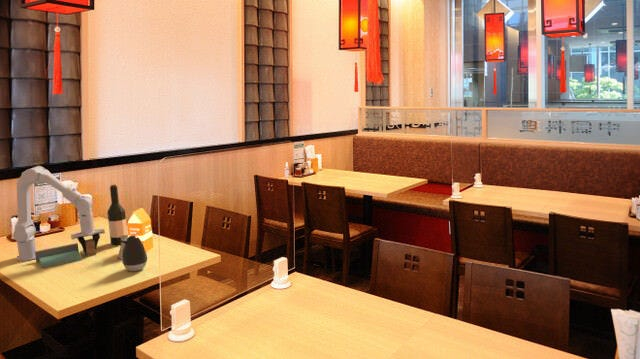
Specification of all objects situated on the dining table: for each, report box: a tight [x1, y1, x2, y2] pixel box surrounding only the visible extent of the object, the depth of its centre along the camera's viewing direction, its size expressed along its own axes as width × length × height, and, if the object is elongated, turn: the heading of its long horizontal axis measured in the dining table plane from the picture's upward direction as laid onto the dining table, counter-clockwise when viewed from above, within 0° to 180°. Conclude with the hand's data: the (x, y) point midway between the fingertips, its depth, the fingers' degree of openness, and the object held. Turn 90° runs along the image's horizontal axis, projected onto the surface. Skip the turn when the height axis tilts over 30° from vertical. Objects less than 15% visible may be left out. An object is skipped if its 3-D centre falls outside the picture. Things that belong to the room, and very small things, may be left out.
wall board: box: [35, 243, 83, 269], centre depth 235 cm, size 12×18×5 cm, turn 127°
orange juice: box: [126, 207, 154, 253], centre depth 245 cm, size 8×9×20 cm
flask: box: [117, 235, 128, 260], centre depth 237 cm, size 7×7×10 cm
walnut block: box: [84, 238, 97, 257], centre depth 242 cm, size 4×4×7 cm
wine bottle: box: [106, 184, 128, 247], centre depth 256 cm, size 8×8×30 cm
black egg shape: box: [121, 235, 148, 272], centre depth 220 cm, size 10×10×15 cm
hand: (90, 250), depth 242 cm, fingers closed on walnut block, 4 cm apart
